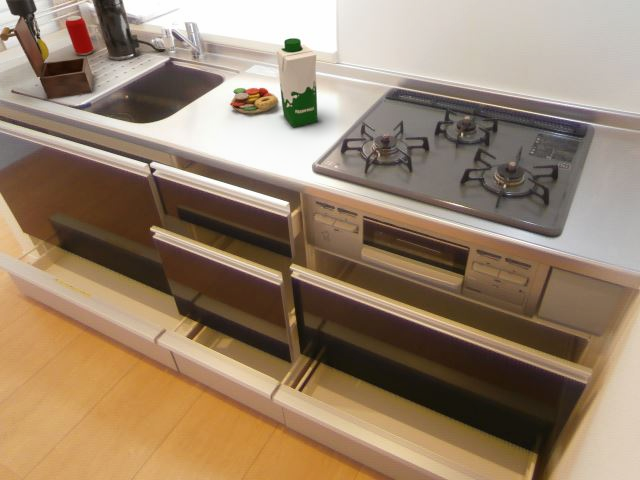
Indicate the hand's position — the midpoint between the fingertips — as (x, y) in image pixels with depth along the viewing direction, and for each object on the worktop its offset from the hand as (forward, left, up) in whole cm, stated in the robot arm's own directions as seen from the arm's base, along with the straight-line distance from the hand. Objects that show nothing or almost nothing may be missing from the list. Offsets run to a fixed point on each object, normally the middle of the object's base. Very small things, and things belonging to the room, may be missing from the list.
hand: (39, 51), depth 166 cm
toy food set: (-60, +54, -6) cm, 81 cm away
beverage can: (-12, -10, -6) cm, 17 cm away
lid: (-3, +20, +8) cm, 21 cm away
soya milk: (-70, +67, -6) cm, 97 cm away
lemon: (0, 0, -4) cm, 4 cm away
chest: (-9, +20, -6) cm, 23 cm away
